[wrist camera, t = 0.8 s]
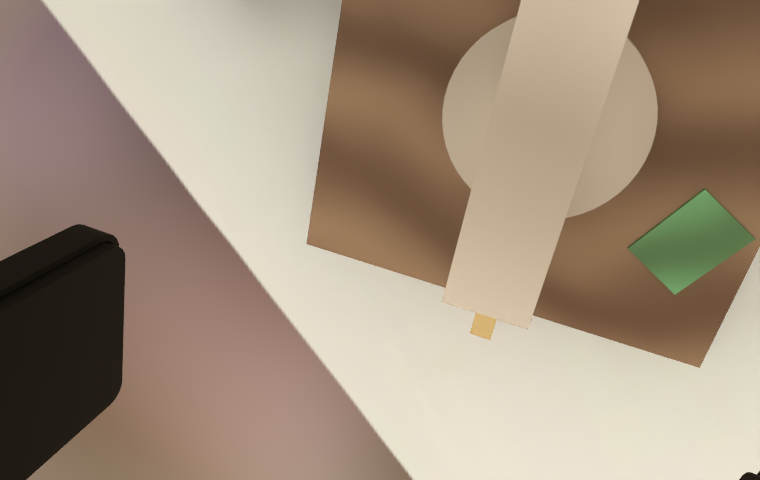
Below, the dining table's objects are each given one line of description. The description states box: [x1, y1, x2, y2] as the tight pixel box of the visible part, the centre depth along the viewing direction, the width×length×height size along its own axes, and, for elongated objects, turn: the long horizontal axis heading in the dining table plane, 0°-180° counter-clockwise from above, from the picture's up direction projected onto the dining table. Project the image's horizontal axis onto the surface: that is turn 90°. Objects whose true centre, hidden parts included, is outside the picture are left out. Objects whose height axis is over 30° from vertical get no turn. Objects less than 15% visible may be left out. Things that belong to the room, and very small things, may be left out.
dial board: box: [307, 0, 760, 368], centre depth 28 cm, size 20×20×2 cm
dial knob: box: [442, 0, 658, 340], centre depth 24 cm, size 16×8×9 cm, turn 169°
